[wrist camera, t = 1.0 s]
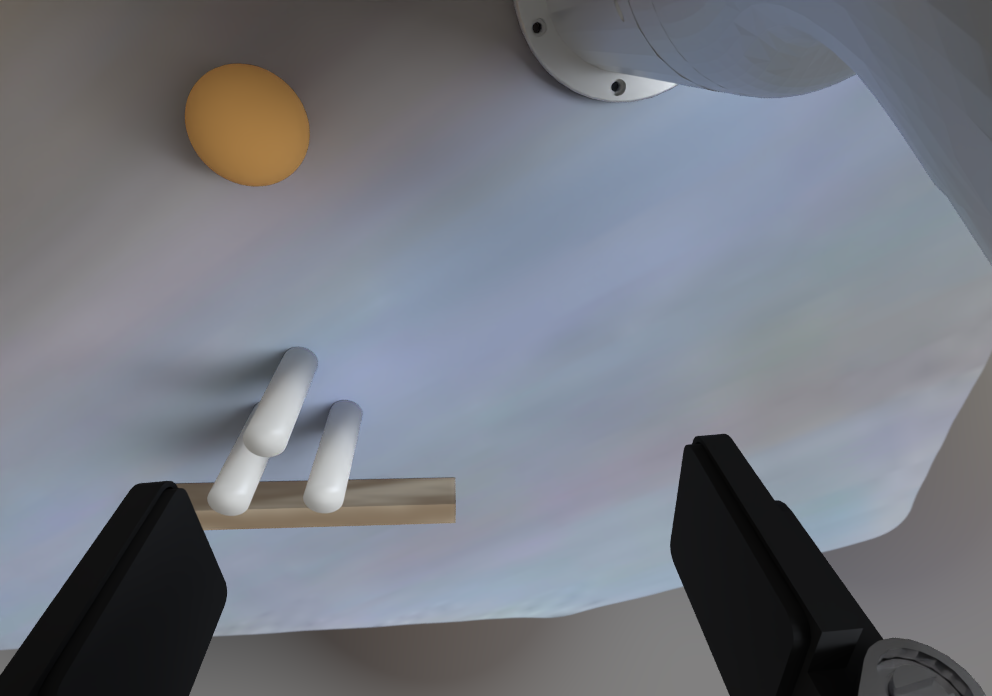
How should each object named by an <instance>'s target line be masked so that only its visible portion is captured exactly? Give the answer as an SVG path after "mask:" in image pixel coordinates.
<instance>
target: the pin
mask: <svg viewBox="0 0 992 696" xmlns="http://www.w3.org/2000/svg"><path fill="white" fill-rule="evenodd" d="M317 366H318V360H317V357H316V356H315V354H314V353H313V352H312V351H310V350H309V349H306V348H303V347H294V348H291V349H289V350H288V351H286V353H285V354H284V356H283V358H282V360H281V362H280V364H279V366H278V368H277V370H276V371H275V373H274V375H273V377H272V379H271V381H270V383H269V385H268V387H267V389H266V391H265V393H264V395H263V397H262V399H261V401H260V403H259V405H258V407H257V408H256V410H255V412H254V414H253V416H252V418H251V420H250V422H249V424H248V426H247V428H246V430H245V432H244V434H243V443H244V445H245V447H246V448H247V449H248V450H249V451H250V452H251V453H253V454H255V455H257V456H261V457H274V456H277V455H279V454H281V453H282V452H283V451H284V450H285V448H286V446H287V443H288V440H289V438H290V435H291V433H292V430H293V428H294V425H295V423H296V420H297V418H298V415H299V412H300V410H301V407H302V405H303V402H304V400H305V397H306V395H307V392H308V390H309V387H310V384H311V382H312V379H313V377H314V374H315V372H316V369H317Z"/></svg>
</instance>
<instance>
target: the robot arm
mask: <svg viewBox="0 0 992 696" xmlns="http://www.w3.org/2000/svg"><path fill="white" fill-rule="evenodd" d="M513 1H514V7H515V11H516V14H517V18H518V21H519V25H520V28H521V31H522V33H523V35H524V37H525V39H526V41H527V43H528V45H529V47H530V49H531V51H532V53H533V54H534V55H535V57H536V58H537V59H538V61H539V62H540V63H541V65H542V66H543V67H544V69H545V70H546V71H547V72H548V73H550V74H551V75H552V76H553V77H554V78H555V79H556V80H557V81H559V82H560V83H561V84H563V85H564V86H566V87H568V88H569V89H571V90H573V91H575V92H576V93H578V94H581V95H584V96H586V97H589V98H591V99H596V100H601V101H606V102H634V101H638V100H643V99H647V98H652V97H654V96H656V95H659V94H661V93H663V92H666V91H668V90H670V89H672V88H674V87H675V86H677V85H678V84H680V85H686V86H691V87H696V88H701V89H707V90H712V91H718V92H724V93H729V94H735V95H740V96H749V97H759V98H783V97H792V96H798V95H804V94H807V93H811V92H815V91H818V90H821V89H824V88H827V87H829V86H832V85H834V84H837V83H839V82H841V81H843V80H845V79H847V78H850V77H852V76H854V75H856V74H857V75H858V76H859V78H860V79H861V80H862V81H863V83H864V84H865V85H866V86H867V88H868V89H869V90H870V91H871V93H872V94H873V95H874V96H875V98H876V99H877V100H878V102H879V103H880V105H881V106H882V107H883V109H884V110H885V112H886V113H887V114H888V116H889V117H890V119H891V120H892V121H893V123H894V124H895V126H896V127H897V129H898V130H899V132H900V133H901V134H902V136H903V137H904V139H905V140H906V142H907V143H908V145H909V146H910V148H911V149H912V151H913V152H914V154H915V155H916V157H917V158H918V160H919V162H920V163H921V165H922V166H923V168H924V169H925V171H926V172H927V174H928V175H929V177H930V178H931V180H932V181H933V183H934V184H935V185H936V186H937V187H938V188H939V190H940V191H941V192H942V193H943V194H944V195H945V196H947V198H948V199H949V201H950V202H951V204H952V205H953V207H954V209H955V210H956V212H957V213H958V215H959V216H960V218H961V219H962V221H963V222H964V224H965V225H966V227H967V229H968V230H969V232H970V233H971V235H972V236H973V238H974V239H975V241H976V242H977V244H978V245H979V247H980V248H981V250H982V252H983V253H984V255H985V256H986V258H987V259H988V261H989V262H990V264H991V265H992V0H513ZM535 22H538V23H539V24H540V25H541V30H540V32H539V33H534V31H533V29H532V26H533V24H534V23H535ZM614 82H617V83H618V89H617V90H616V91H612V89H611V85H612V84H613V83H614ZM670 549H671V555H672V559H673V562H674V565H675V567H676V569H677V572H678V574H679V577H680V579H681V581H682V584H683V586H684V588H685V591H686V593H687V596H688V598H689V600H690V602H691V605H692V607H693V610H694V612H695V614H696V617H697V619H698V622H699V624H700V626H701V629H702V631H703V633H704V636H705V638H706V640H707V643H708V645H709V648H710V650H711V652H712V655H713V657H714V659H715V662H716V664H717V667H718V669H719V671H720V673H721V676H722V678H723V681H724V683H725V685H726V688H727V690H728V693H729V695H730V696H986V695H985V693H984V692H983V690H982V688H981V687H980V686H979V684H978V683H977V682H976V681H975V680H974V679H973V678H972V676H971V675H970V674H969V673H968V672H967V671H966V670H965V669H964V668H962V667H961V666H960V665H959V664H957V663H956V662H955V661H954V660H952V659H951V658H950V657H948V656H947V655H945V654H943V653H941V652H939V651H938V650H936V649H934V648H932V647H930V646H928V645H925V644H922V643H919V642H916V641H913V640H909V639H900V638H889V639H884V640H883V638H882V637H881V635H880V634H879V633H878V631H877V630H876V629H875V627H874V626H873V624H872V623H871V621H870V620H869V619H868V617H867V616H866V614H865V613H864V612H863V610H862V609H861V608H860V606H859V605H858V603H857V602H856V601H855V599H854V598H853V596H852V595H851V593H850V592H849V591H848V590H847V588H846V586H845V585H844V584H843V582H842V581H841V580H840V578H839V577H838V575H837V574H836V572H835V571H834V570H833V568H832V567H831V565H830V564H829V563H828V561H827V560H826V558H825V557H824V556H823V554H822V553H821V551H820V550H819V549H818V547H817V546H816V544H815V543H814V542H813V540H812V539H811V537H810V536H809V535H808V533H807V532H806V530H805V529H804V528H803V526H802V525H801V523H800V522H799V521H798V519H797V518H796V516H795V515H794V514H793V512H792V511H791V510H790V509H789V508H788V506H787V505H786V504H785V503H783V502H781V501H775V500H774V499H773V498H772V496H771V495H770V493H769V492H768V490H767V489H766V487H765V486H764V485H763V483H762V482H761V480H760V479H759V477H758V476H757V475H756V473H755V472H754V470H753V469H752V467H751V466H750V464H749V463H748V462H747V460H746V459H745V457H744V456H743V454H742V453H741V451H740V450H739V449H738V447H737V446H736V444H735V443H734V441H733V440H732V439H731V437H730V436H729V435H727V434H717V435H705V436H697V437H695V438H694V440H693V443H692V444H690V445H686V446H685V448H684V452H683V459H682V466H681V473H680V480H679V487H678V493H677V500H676V507H675V514H674V521H673V528H672V535H671V541H670ZM226 598H227V586H226V582H225V580H224V578H223V575H222V573H221V570H220V568H219V566H218V563H217V561H216V559H215V556H214V554H213V552H212V549H211V547H210V545H209V542H208V540H207V538H206V535H205V533H204V531H203V528H202V526H201V524H200V521H199V519H198V517H197V514H196V512H195V510H194V507H193V505H192V503H191V500H190V498H189V496H188V493H187V492H186V490H185V489H183V488H178V487H177V485H176V484H175V483H174V482H173V481H162V482H151V483H139V484H137V485H135V486H134V487H133V488H132V489H131V490H130V491H129V493H128V494H127V495H126V497H125V498H124V500H123V501H122V503H121V504H120V505H119V507H118V508H117V510H116V511H115V513H114V514H113V515H112V517H111V518H110V520H109V521H108V523H107V524H106V525H105V527H104V528H103V530H102V531H101V533H100V534H99V535H98V537H97V538H96V540H95V541H94V542H93V544H92V545H91V547H90V548H89V550H88V551H87V552H86V554H85V555H84V557H83V558H82V560H81V561H80V562H79V564H78V565H77V567H76V568H75V570H74V571H73V572H72V574H71V575H70V577H69V578H68V580H67V581H66V582H65V584H64V585H63V587H62V588H61V590H60V591H59V592H58V594H57V595H56V597H55V598H54V599H53V601H52V602H51V604H50V605H49V607H48V608H47V609H46V611H45V612H44V614H43V615H42V617H41V618H40V619H39V621H38V622H37V624H36V625H35V627H34V628H33V629H32V631H31V632H30V634H29V635H28V637H27V638H26V639H25V641H24V642H23V644H22V645H21V647H20V648H19V649H18V651H17V652H16V654H15V655H14V657H13V658H12V659H11V661H10V662H9V664H8V665H7V666H6V668H5V669H4V671H3V672H2V674H1V675H0V696H189V694H190V692H191V689H192V686H193V684H194V682H195V679H196V676H197V674H198V671H199V669H200V666H201V664H202V661H203V659H204V656H205V654H206V651H207V649H208V646H209V644H210V641H211V639H212V636H213V633H214V631H215V628H216V626H217V623H218V621H219V618H220V616H221V613H222V611H223V608H224V606H225V602H226Z"/></svg>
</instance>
